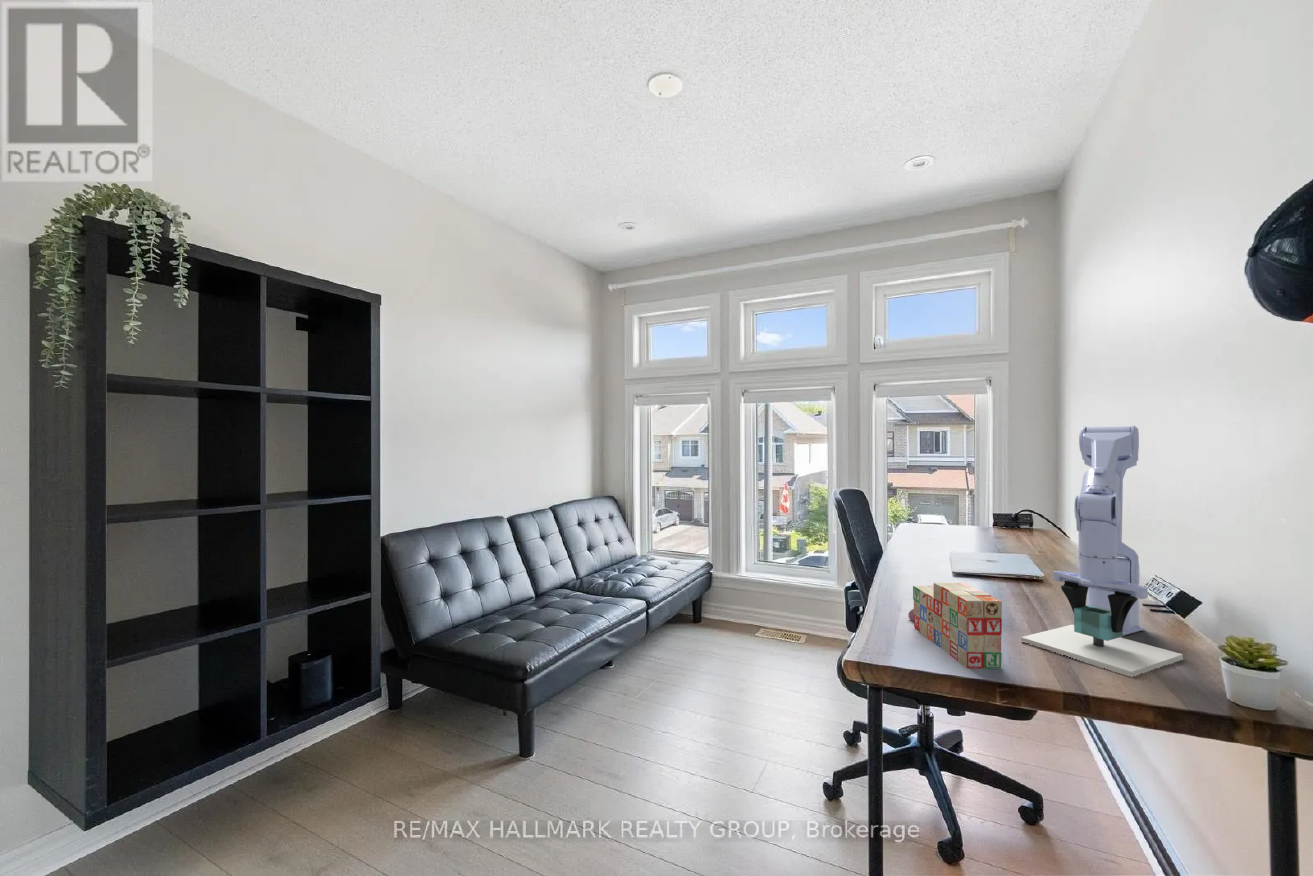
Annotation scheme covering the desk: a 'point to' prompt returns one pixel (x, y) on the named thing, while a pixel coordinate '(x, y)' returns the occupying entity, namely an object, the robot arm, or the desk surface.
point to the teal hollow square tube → (1094, 622)
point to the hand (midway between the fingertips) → (1098, 626)
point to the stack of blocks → (961, 622)
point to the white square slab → (1104, 651)
